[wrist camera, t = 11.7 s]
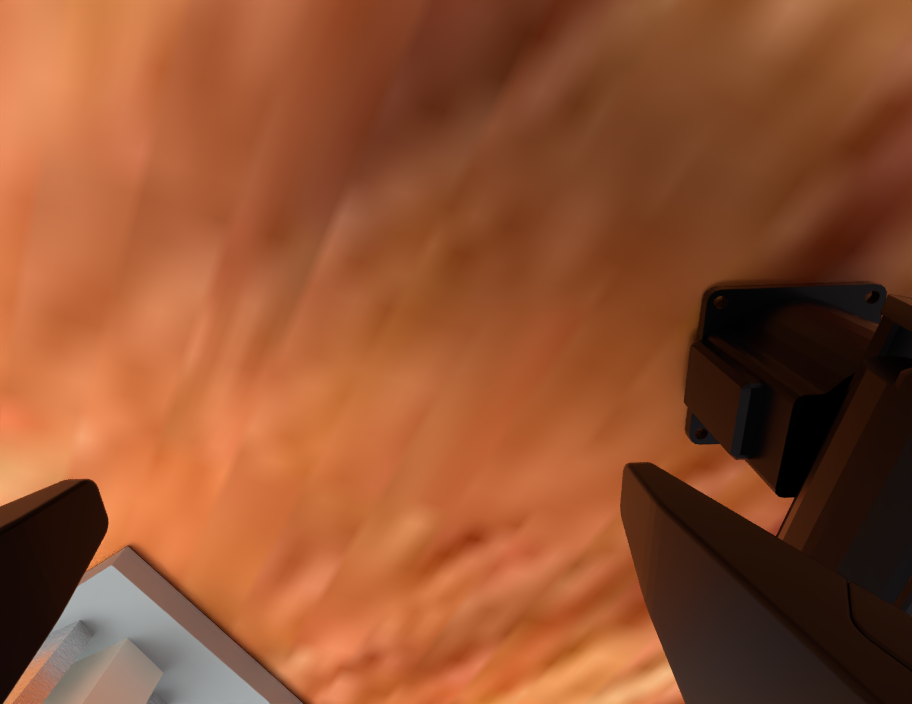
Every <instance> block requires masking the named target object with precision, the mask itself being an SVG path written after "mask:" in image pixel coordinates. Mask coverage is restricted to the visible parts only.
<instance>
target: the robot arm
mask: <svg viewBox="0 0 912 704" xmlns="http://www.w3.org/2000/svg"><path fill="white" fill-rule="evenodd" d="M871 291H872V295H871V297H870V298H869V299H868V300H866V301H865V297H866V295H867V294H868V293H869V292H871ZM886 295H887V292H886V289H885V287H883V286H882V285H880V284H877V283H874V282H839V283H811V284H782V285H754V286H725V287H714V288H711V289H710V290H708V291H707V292H706V293H705V295H704V297H703V299H702V306H701V313H700V321H699V328H698V336H697V340H696V341H695V342H694V344H693V345H692V346H691V349H690V357H689V365H688V373H687V380H686V388H685V396H684V403H685V404H686V406H687V407H688V412H687V419H686V427H685V433H686V435H687V436H688V438H689V439H690V440H691V441H692V442H693V443H695V444H700V445H701V444H721V445H722V446H723V448H724V449H725V450H726V451H727V452H728V453H729V454H730V455H731V456H732V457H733V458H734V459H736V460H745V461H746V462H747V463H748V464H749V465H750V466H751V467H752V468H753V469H754V471H755V472H756V473H757V474H758V475H759V476H760V477H761V478H762V479H763V480H764V481H765V483H766V484H767V485H768V486H769V487H770V488H771V489H772V490H773V491H774V492H775V493H776V494H777V495H778V496H779V497H783V498H789V497H795V498H794V500H793V502H792V504H791V506H790V508H789V510H788V513H787V515H786V517H785V519H784V521H783V523H782V525H781V527H780V529H779V531H778V533H777V535H776V536H774V535H773V534H771V533H769V532H767V531H766V530H764V529H762V528H761V527H759V526H757V525H756V524H754V523H752V522H751V521H749V520H747V519H745V518H744V517H742V516H740V515H739V514H737V513H735V512H734V511H732V510H730V509H729V508H727V507H725V506H723V505H722V504H720V503H718V502H717V501H715V500H713V499H712V498H710V497H708V496H707V495H705V494H703V493H701V492H700V491H698V490H696V489H695V488H693V487H691V486H690V485H688V484H686V483H685V482H683V481H681V480H680V479H678V478H676V477H674V476H673V475H671V474H669V473H668V472H666V471H664V470H663V469H661V468H659V467H658V466H656V465H654V464H652V463H649V462H640V463H627V464H626V465H625V467H624V470H623V479H622V491H621V503H620V510H621V517H622V521H623V525H624V529H625V532H626V536H627V540H628V543H629V547H630V551H631V554H632V558H633V561H634V565H635V569H636V572H637V576H638V580H639V583H640V587H641V590H642V594H643V597H644V601H645V604H646V606H647V609H648V612H649V614H650V617H651V620H652V622H653V625H654V627H655V630H656V632H657V635H658V637H659V640H660V642H661V645H662V647H663V650H664V652H665V655H666V657H667V659H668V662H669V664H670V667H671V669H672V672H673V674H674V677H675V679H676V682H677V684H678V687H679V689H680V692H681V694H682V697H683V699H684V702H685V704H912V298H908V297H902V296H897V295H891V294H889V295H888V297H887V299H886ZM719 296H722V298H723V300H722V302H721V304H719V305H718V306H714V300H715V299H716V298H717V297H719ZM885 300H886V301H885ZM882 315H883V317H882V319H881V316H882ZM880 320H881V321H880ZM701 428H704V429H703V432H701V433H700V434H695V433H696V431H697V430H698V429H701ZM107 529H108V516H107V513H106V510H105V507H104V504H103V501H102V498H101V495H100V492H99V489H98V487H97V484H96V483H95V482H94V481H92V480H90V479H68V480H64V481H61V482H58V483H56V484H54V485H51V486H49V487H46V488H44V489H42V490H39V491H37V492H34V493H32V494H30V495H27V496H25V497H22V498H20V499H18V500H15V501H13V502H10V503H8V504H5V505H3V506H1V507H0V704H4V702H5V701H6V699H7V698H8V696H9V695H10V693H11V692H12V690H13V689H14V687H15V686H16V684H17V683H18V681H19V680H20V678H21V676H22V675H23V673H24V672H25V670H26V669H27V667H28V666H29V664H30V663H31V661H32V660H33V658H34V657H35V655H36V654H37V652H38V651H39V649H40V648H41V646H42V645H43V643H44V642H45V640H46V639H47V637H48V636H49V634H50V633H51V631H52V630H53V628H54V626H55V625H56V623H57V622H58V620H59V618H60V617H61V615H62V613H63V612H64V610H65V608H66V606H67V605H68V603H69V601H70V599H71V597H72V596H73V594H74V592H75V590H76V588H77V586H78V584H79V583H80V581H81V579H82V577H83V575H84V573H85V572H86V570H87V568H88V566H89V564H90V562H91V560H92V559H93V557H94V555H95V553H96V551H97V549H98V548H99V546H100V544H101V542H102V540H103V538H104V536H105V534H106V532H107Z"/></svg>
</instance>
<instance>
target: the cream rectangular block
mask: <svg viewBox="0 0 912 704" xmlns="http://www.w3.org/2000/svg"><path fill="white" fill-rule="evenodd" d="M162 675H163V672H162V671H161V670H160V669H159V668H158V667H157V666H156V665H155V664H154V663H153V662H152V661H151V660H150V659H149V658H148V657H147V656H146V655H145V654H144V653H143V652H142V651H141V650H139V649H138V648H137V647H136V646H135V645H134V644H133V643H132V642H131V641H130V640H129V639H128V638H126V639H124V640H122V641H120V642H118V643H115V644H113V645H111V646H109V647H107V648H105V649H102V650H100V651H98V652H96V653H94V654H92V655H89V656H87V657H85V658H83V659H81V660H78V661H76V662H74V663H72V665H71V666H70V667H69V669H68V670H67V671H66V673H65V674H64V675H63V677H62V678H61V679H60V681H59V682H58V683H57V685H56V686H55V687H54V689H53V690H52V691H51V692H50V694H49V695H48V696H47V698H46V699H45V700H44V702H43V703H42V704H146V703H147V701H148V699H149V697H150V696H151V694H152V692H153V690H154V689H155V687H156V685H157V683H158V682H159V680H160V678H161V676H162Z"/></svg>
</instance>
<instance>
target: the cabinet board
mask: <svg viewBox="0 0 912 704" xmlns="http://www.w3.org/2000/svg"><path fill="white" fill-rule="evenodd" d="M78 620H81V621H82V622H83V623H84V624H85V625H86V626H87V627H88V628H89V629H90V630H91V631H92V632H93V633H94V636H93V637H92V638H91V640H90V641H89V642H88V644H87V645H86V646H85V648H84V649H83V650H82V652H81V653H80V654H79V655H78V657H77V658H76V659H75V661H74V662H76V661H78V660H81V659H83V658H85V657H87V656H89V655H92V654H94V653H96V652H98V651H100V650H102V649H105V648H107V647H109V646H111V645H113V644H115V643H118V642H120V641H122V640H124V639H126V638H128V639H129V640H130V641H131V642H132V643H133V644H134V645H135V646H136V647H137V648H138V649H139V650H141V651H142V652H143V653H144V654H145V655H146V656H147V657H148V658H149V659H150V660H151V661H152V662H153V663H154V664H155V665H156V666H157V667H158V668H159V669H160V670H161V671H162V672H163V675H162V676H161V678H160V680H159V682H158V683H157V685H156V687H155V689H154V690H153V692H152V694H153V693H155V692H156V693H157V694H158V695H159V696H160V697H161V698H162V699H163V700H164V701H165V702H166V703H167V704H303V703H302V702H301V701H300V700H299V699H298V698H297V697H296V696H294V695H293V694H292V693H291V692H290V691H289V690H288V689H287V688H285V687H284V686H283V685H282V684H281V683H280V682H279V681H278V680H277V679H275V678H274V677H273V676H272V675H271V674H270V673H269V672H268V671H267V670H265V669H264V668H263V667H262V666H261V665H260V664H259V663H258V662H256V661H255V660H254V659H253V658H252V657H251V656H250V655H249V654H248V653H246V652H245V651H244V650H243V649H242V648H241V647H240V646H239V645H238V644H236V643H235V642H234V641H233V640H232V639H231V638H230V637H229V636H228V635H226V634H225V633H224V632H223V631H222V630H221V629H220V628H219V627H217V626H216V625H215V624H214V623H213V622H212V621H211V620H210V619H209V618H207V617H206V616H205V615H204V614H203V613H202V612H201V611H200V610H199V609H197V608H196V607H195V606H194V605H193V604H192V603H191V602H190V601H188V600H187V599H186V598H185V597H184V596H183V595H182V594H181V593H180V592H178V591H177V590H176V589H175V588H174V587H173V586H172V585H171V584H170V583H168V582H167V581H166V580H165V579H164V578H163V577H162V576H161V575H160V574H158V573H157V572H156V571H155V570H154V569H153V568H152V567H151V566H149V565H148V564H147V563H146V562H145V561H144V560H143V559H142V558H141V557H139V556H138V555H137V554H136V553H135V552H134V551H133V550H132V549H131V548H129V547H128V546H127V547H125V548H124V549H122V550H120V551H119V552H117V553H116V554H114V555H113V556H111V557H109V558H108V559H106V560H105V561H103V562H102V563H100V564H98V565H97V566H95V567H94V568H92V569H91V570H89V571H88V572H86V573H84V575H83V577H82V579H81V581H80V583H79V584H78V586H77V588H76V590H75V592H74V594H73V596H72V597H71V599H70V601H69V603H68V605H67V606H66V608H65V610H64V612H63V613H62V615H61V617H60V618H59V620H58V622H57V623H56V625H55V626H54V628H53V630H52V631H51V633H53V632H55V631H57V630H59V629H61V628H63V627H66V626H68V625H70V624H72V623H74V622H76V621H78ZM74 662H73V663H74Z"/></svg>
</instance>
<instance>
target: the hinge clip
mask: <svg viewBox="0 0 912 704" xmlns="http://www.w3.org/2000/svg"><path fill="white" fill-rule="evenodd" d="M93 636H94V633H93V632H92V631H91V630H90V629H89V628H88V627H87V626H86V625H85V624H84V623H83V622H82V621H81V620H78V621H76V622H74V623H72V624H70V625H68V626H66V627H63V628H61V629H59V630H57V631H55V632H53V633H50V634H49V636H48V637H47V639H46V640H45V642H44V643H43V645H42V646H41V648H40V649H39V651H38V652H37V654H36V655H35V657H34V658H33V660H32V661H31V663H30V664H29V666H28V667H27V669H26V670H25V672H24V673H23V675H22V676H21V678H20V680H19V681H18V683H17V684H16V686H15V687H14V689H13V690H12V692H11V693H10V695H9V696H8V698H7V699H6V701H5V702H4V704H42V703H43V702H44V700H45V699H46V698H47V696H48V695H49V694H50V692H51V691H52V690H53V689H54V687H55V686H56V685H57V683H58V682H59V681H60V679H61V678H62V677H63V675H64V674H65V673H66V671H67V670H68V669H69V667H70V666H71V665H72V663H73V662H74V661H75V659H76V658H77V657H78V655H79V654H80V653H81V652H82V650H83V649H84V648H85V646H86V645H87V644H88V642H89V641H90V640H91V638H92V637H93ZM146 704H167V703H166V702H165V701H164V700H163V699H162V698H161V697H160V696H159V695H158V694H157V693H156V692H155V693H153V694H151V696H150V697H149V699H148V701H147V703H146Z"/></svg>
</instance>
